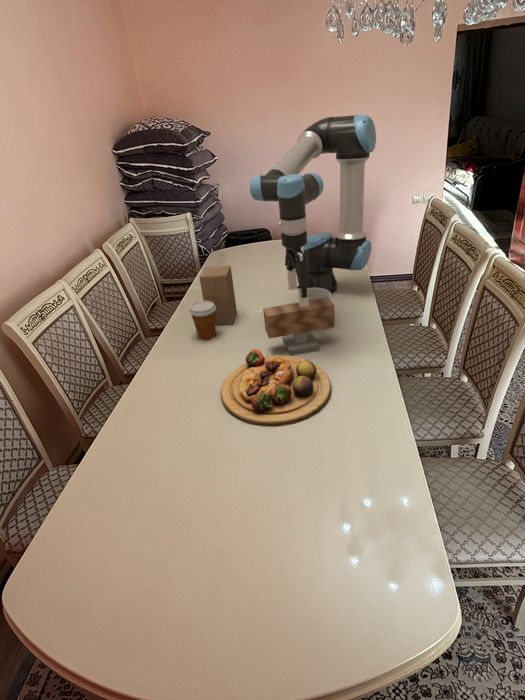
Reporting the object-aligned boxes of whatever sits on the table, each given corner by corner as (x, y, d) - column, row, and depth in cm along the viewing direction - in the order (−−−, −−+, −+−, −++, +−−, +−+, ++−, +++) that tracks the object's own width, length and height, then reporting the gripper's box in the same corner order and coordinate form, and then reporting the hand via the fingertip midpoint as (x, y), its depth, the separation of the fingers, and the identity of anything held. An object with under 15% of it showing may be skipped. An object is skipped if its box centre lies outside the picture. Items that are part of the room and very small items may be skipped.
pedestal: (310, 336, 157) (309, 319, 154) (319, 350, 148) (318, 332, 145) (282, 341, 156) (281, 324, 152) (289, 355, 147) (288, 338, 144)
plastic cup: (333, 328, 160) (332, 297, 154) (302, 330, 161) (300, 299, 155) (330, 315, 169) (329, 285, 163) (301, 316, 170) (299, 287, 164)
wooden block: (237, 313, 178) (230, 265, 168) (233, 325, 170) (226, 275, 160) (212, 314, 180) (204, 266, 170) (207, 326, 171) (198, 276, 161)
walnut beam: (328, 319, 153) (328, 297, 149) (334, 326, 147) (334, 304, 143) (265, 330, 150) (263, 308, 146) (269, 338, 145) (266, 316, 141)
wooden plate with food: (215, 372, 143) (211, 350, 139) (312, 353, 147) (311, 331, 143) (229, 439, 116) (225, 414, 112) (347, 413, 120) (347, 389, 116)
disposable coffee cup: (189, 340, 163) (183, 310, 157) (202, 328, 170) (197, 299, 164) (212, 343, 159) (207, 312, 153) (224, 330, 166) (220, 301, 160)
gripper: (272, 222, 142) (278, 284, 153) (292, 246, 121) (297, 316, 132) (295, 218, 143) (299, 280, 154) (318, 242, 122) (321, 311, 133)
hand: (298, 297), depth 143 cm, fingers open, 13 cm apart
